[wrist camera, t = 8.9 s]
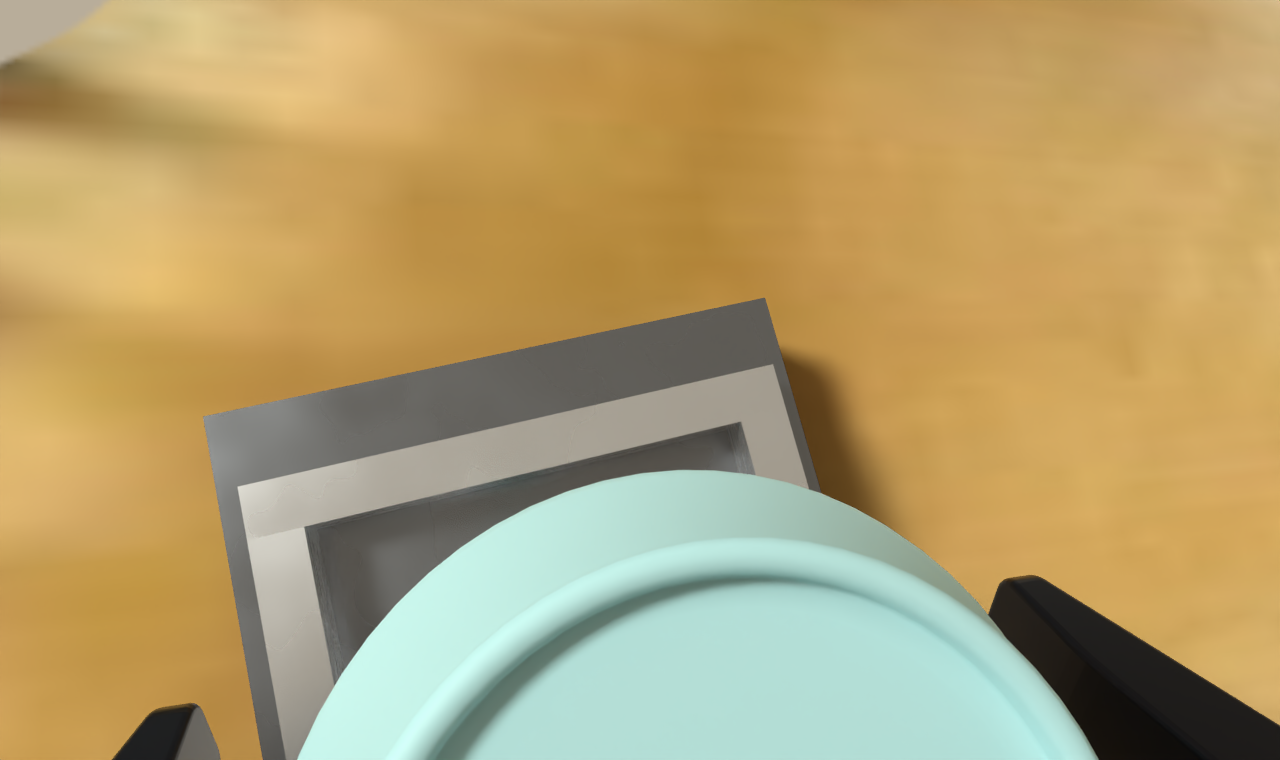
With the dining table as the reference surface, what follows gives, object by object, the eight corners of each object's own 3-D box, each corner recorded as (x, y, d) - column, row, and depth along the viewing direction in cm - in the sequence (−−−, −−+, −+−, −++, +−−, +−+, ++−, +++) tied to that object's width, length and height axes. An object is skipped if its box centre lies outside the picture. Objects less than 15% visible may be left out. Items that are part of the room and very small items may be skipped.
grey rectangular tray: (890, 899, 20) (988, 984, 16) (365, 1096, 18) (326, 1254, 14) (730, 331, 22) (781, 280, 18) (246, 437, 20) (181, 406, 16)
